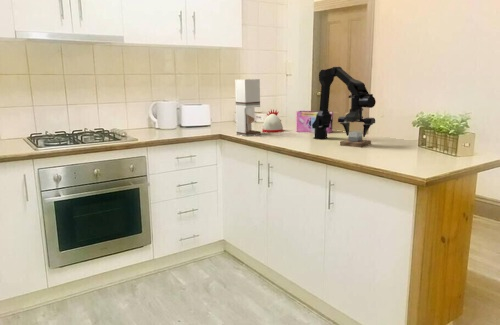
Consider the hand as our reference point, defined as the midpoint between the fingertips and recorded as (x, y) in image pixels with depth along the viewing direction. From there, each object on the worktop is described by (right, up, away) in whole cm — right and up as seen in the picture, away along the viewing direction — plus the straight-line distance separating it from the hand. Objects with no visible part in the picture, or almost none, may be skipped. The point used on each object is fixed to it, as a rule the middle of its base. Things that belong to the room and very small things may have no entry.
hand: (355, 136), depth 219 cm
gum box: (-14, +6, +54) cm, 56 cm away
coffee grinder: (-57, +4, +47) cm, 74 cm away
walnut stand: (0, -4, +1) cm, 4 cm away
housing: (0, -2, 0) cm, 3 cm away
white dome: (-41, +7, +62) cm, 74 cm away
